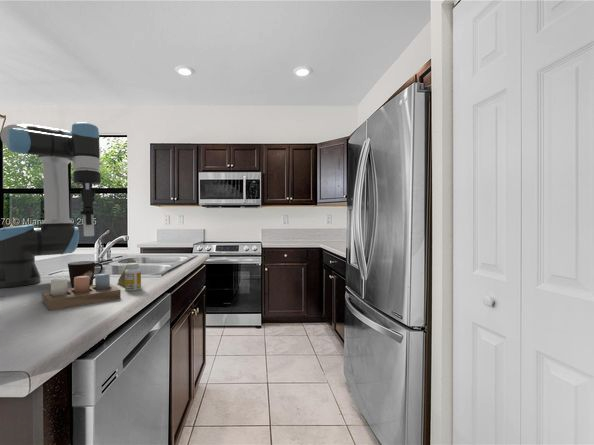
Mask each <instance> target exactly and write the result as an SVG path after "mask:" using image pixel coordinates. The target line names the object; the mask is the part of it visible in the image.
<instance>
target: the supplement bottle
mask: <svg viewBox="0 0 594 445" xmlns="http://www.w3.org/2000/svg"><path fill="white" fill-rule="evenodd" d="M126 266H127V270H125V286H124V290H125V291H127V292H132V291H133V292H135V291H138V290H141V289H142V271H141V269H140V268H139V267H140V264H139V262H137V263H129V262H128V263H126Z"/></svg>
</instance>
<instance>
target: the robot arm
mask: <svg viewBox="0 0 594 445" xmlns="http://www.w3.org/2000/svg"><path fill="white" fill-rule="evenodd" d="M99 132H100V130H99V127H98V126H96V125H95V124H92V123H87V122H75V123H73V124H72V125H71V131H68V130H65V129H60V128H55V127H48V126H41V125H34V124H29V123H14V124H8V125H7V126H5V127H3V128H2V129H1V131H0V140H1V142H2V143H3V144H4V146H5V147H7V149H8V151H9V152H11V153H15V154H17V153H18V154H21V155H34V156H35V155H36V156H37V160H39V161H41V163H42V172H43V177H42V178H43V203H44V205H43V208H44V219H43V220H42V221H41V222H40V224H39V226H40V227H35V225H34V224H22V225H13V226H11V225H10V226H5V227H2V228H0V288H3V289H4V288H5V289H6V288H16V287H24V286H30V285H34V284H38V283H40V282H41V279H42V278H41V275H40V272H39V270H38V268H37V265H36V261H35V260H36V259H35V258H36V257H41V256H51V255H52V256H53V255H65V254H67V255H68V254H72V253H74V252H75V251H76V249H77V247H78V244H79V242H80V241H79V240H80V229H79V227H77V226H75V224H74V221H72V220H71V219H70V199H69V197H70V195H69V194H70V192H69V164H70V163H72V169H73V173H72V174H73V175H72V176H73V182H74V183H75V184H77V185H81V186H82V187H81V188H80V191H79V192H80V195H81V201H82V210H80V215H83V216H82V219H83V220H82V222H83V237H95V221H94V220H95V218H96V214H94V207H93V206H94V205H93V204H94V202H95V195H96V189H95V188H93V185H100V184H101V183H102V182H101V180H102V177H101V176H102V175H101V172H100V171H101V166H102V165H103V163H102V161H100V160H101V158H100V157H101V156H100V154H101V151H100V150H101V148H100V133H99Z"/></svg>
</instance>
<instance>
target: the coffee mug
mask: <svg viewBox="0 0 594 445" xmlns="http://www.w3.org/2000/svg"><path fill="white" fill-rule="evenodd" d="M96 266H100V269H99V271H98V273H97V274H102V271H103V268H104V267H103V265H102V264H101V263H96V261H95V260H81V261H78V260H77V261H72V262H68V263H67V268H68V275H69V281H70V288H74V277H78V276H89V286H90V285H94V279H95V270H96V269H95V268H96Z"/></svg>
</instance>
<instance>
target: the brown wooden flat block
mask: <svg viewBox="0 0 594 445" xmlns="http://www.w3.org/2000/svg"><path fill="white" fill-rule="evenodd" d="M89 287H90V292H83V293H76V294H74V288H71V287H70V288H69V287H68V295H63V296H56V297H52V296H51V290H46V291H41V300H42V301H41V302H42V303H43V304H44V305H45V307H46V308H47V309H48V311H54V310H60V309H67V308H73V307H79V306H83V305H84V306H85V305H89V304H90V305H91V304H97V303H103V302H109V301H115V300H120V299H121V296H122V295H121V293H122V292H121V291H122V290H121V289H120V288H118V287H116V286H114V285H113V284H111V283H110V289H104V290H97V291H96V290H95V284H93V285H90V286H89Z"/></svg>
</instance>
